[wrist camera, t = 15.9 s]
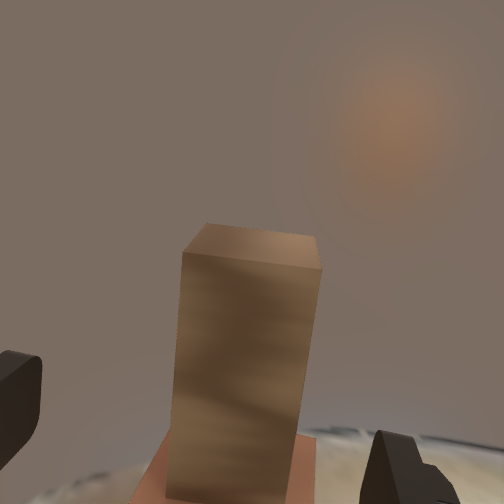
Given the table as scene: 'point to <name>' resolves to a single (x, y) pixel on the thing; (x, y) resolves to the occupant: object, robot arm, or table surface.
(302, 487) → the tower top
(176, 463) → the walnut block
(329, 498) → the table surface
